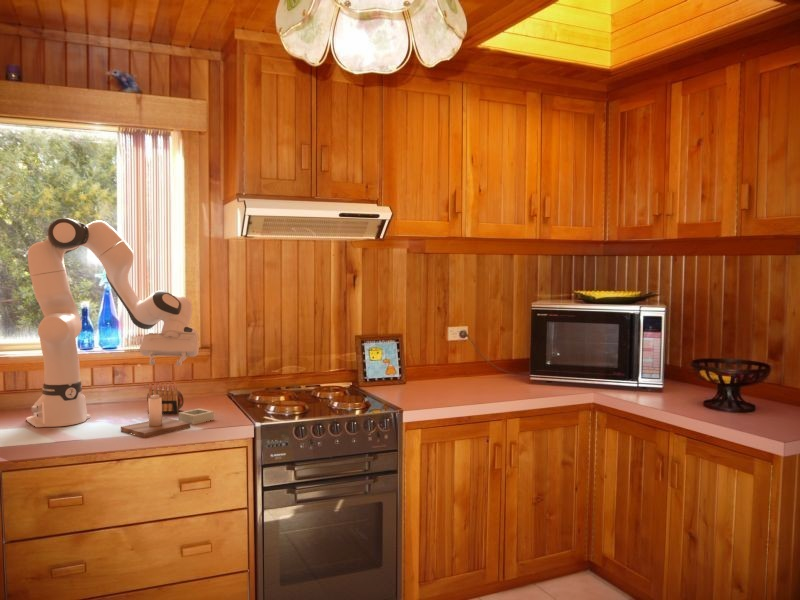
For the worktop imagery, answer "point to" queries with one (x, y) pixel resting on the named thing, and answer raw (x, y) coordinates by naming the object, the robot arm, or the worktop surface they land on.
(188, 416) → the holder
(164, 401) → the ammunition clip
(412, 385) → the worktop surface
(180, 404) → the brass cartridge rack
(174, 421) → the cutting board
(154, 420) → the pepper mill
